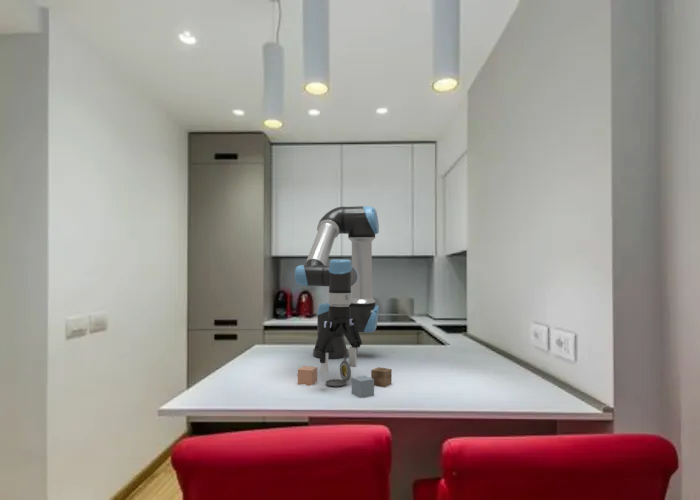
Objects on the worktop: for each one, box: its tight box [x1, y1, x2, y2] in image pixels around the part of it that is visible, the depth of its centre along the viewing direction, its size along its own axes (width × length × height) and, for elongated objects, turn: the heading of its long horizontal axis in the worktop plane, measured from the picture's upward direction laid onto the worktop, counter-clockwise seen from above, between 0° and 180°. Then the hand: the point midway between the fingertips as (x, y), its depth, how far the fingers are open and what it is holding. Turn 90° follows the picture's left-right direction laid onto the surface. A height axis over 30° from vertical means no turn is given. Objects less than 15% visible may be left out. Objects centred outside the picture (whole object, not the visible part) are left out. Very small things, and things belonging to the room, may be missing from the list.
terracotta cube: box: [297, 365, 318, 386], centre depth 152 cm, size 5×5×5 cm
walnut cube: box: [370, 366, 393, 388], centre depth 150 cm, size 5×5×5 cm
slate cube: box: [351, 375, 375, 399], centre depth 139 cm, size 5×5×5 cm
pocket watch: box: [325, 353, 352, 388], centre depth 150 cm, size 8×8×10 cm
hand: (339, 369), depth 150 cm, fingers open, 13 cm apart
